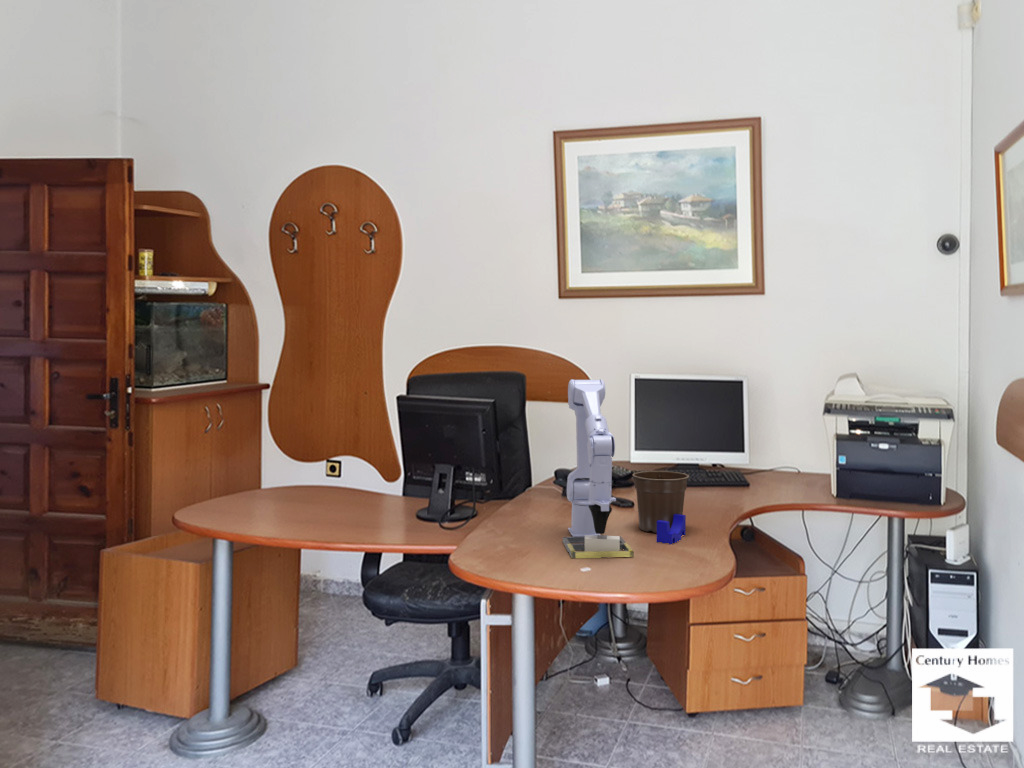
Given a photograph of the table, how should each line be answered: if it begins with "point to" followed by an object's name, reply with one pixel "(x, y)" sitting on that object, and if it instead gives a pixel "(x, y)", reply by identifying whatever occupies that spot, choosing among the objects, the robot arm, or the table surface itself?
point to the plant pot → (659, 497)
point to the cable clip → (676, 529)
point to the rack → (595, 554)
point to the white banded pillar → (602, 543)
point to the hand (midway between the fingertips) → (599, 533)
